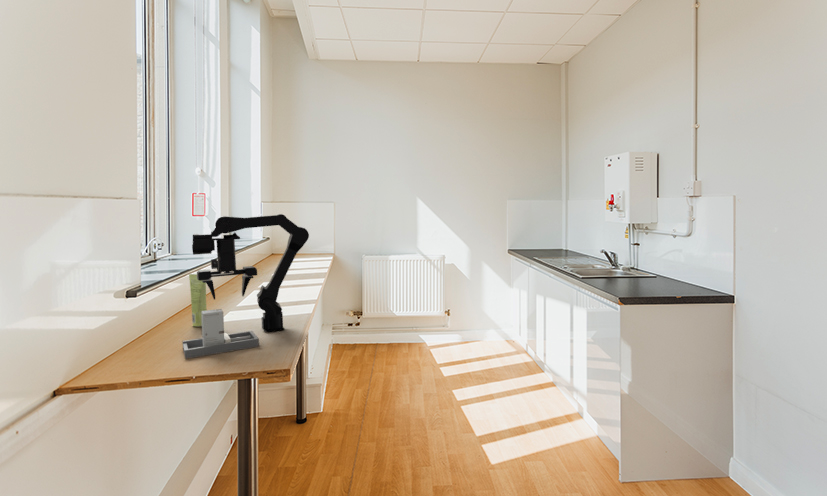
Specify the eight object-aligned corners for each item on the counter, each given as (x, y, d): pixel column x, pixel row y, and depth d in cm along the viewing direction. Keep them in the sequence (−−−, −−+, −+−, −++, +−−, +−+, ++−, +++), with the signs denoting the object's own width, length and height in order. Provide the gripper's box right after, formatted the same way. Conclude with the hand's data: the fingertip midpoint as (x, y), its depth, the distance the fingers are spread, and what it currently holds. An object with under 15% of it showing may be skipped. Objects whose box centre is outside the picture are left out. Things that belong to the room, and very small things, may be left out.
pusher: (248, 338, 150) (247, 329, 150) (253, 344, 143) (252, 335, 143) (222, 342, 146) (221, 333, 146) (226, 349, 139) (225, 339, 139)
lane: (252, 337, 152) (252, 330, 152) (259, 346, 143) (258, 338, 142) (183, 348, 142) (182, 341, 141) (185, 358, 132) (184, 350, 132)
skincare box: (204, 352, 137) (201, 313, 136) (202, 348, 141) (200, 310, 140) (225, 349, 141) (223, 311, 139) (223, 345, 144) (221, 308, 143)
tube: (208, 322, 173) (205, 272, 172) (209, 325, 169) (205, 274, 167) (192, 324, 171) (189, 273, 169) (192, 327, 166) (188, 275, 165)
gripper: (250, 249, 165) (252, 291, 167) (194, 252, 156) (197, 297, 158) (256, 251, 156) (258, 296, 157) (197, 255, 147) (200, 302, 148)
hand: (228, 297), depth 155 cm, fingers open, 9 cm apart
